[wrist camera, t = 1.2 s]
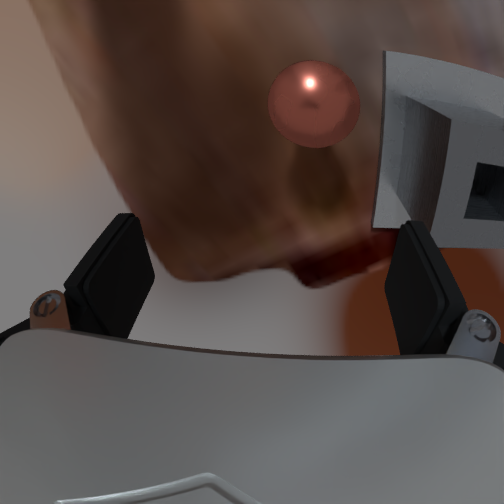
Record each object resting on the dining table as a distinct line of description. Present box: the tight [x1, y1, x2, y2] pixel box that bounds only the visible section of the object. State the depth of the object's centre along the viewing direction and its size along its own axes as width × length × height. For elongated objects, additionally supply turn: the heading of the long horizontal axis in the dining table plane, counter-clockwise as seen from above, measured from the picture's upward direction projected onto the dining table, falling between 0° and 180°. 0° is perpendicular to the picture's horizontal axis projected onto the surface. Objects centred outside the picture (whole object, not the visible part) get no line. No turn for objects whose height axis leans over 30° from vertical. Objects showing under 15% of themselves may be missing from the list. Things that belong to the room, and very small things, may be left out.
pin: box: [268, 60, 360, 148], centre depth 21 cm, size 6×6×10 cm
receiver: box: [371, 51, 504, 249], centre depth 21 cm, size 18×14×10 cm
